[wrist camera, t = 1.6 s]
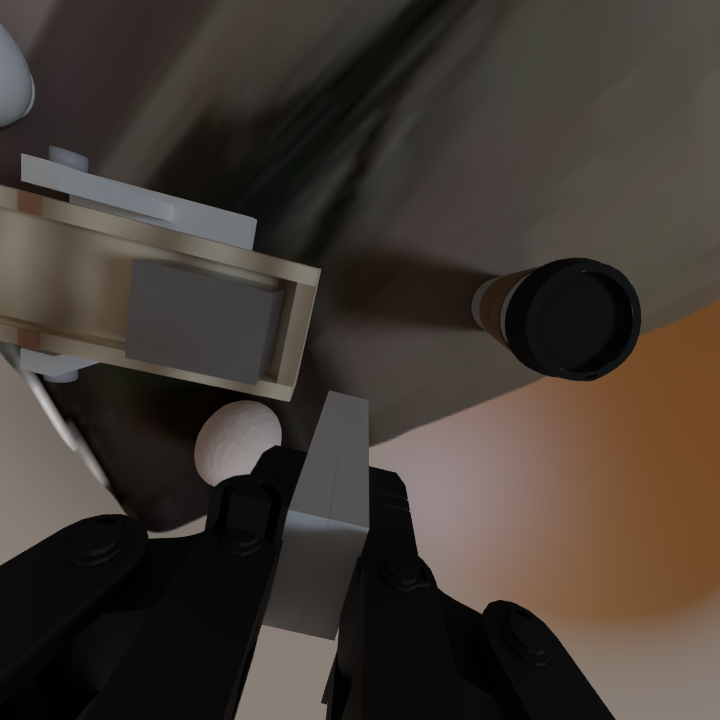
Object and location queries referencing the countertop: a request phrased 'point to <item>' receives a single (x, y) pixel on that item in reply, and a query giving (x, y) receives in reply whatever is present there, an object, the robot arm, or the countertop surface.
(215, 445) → the egg
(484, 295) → the coffee cup
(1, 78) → the lidded jar
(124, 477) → the countertop surface
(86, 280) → the beam
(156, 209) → the stand
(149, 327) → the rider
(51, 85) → the countertop surface
